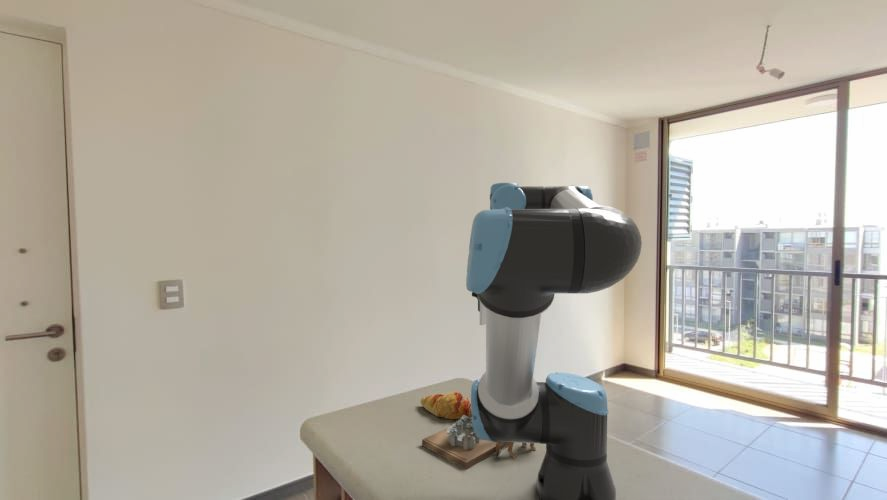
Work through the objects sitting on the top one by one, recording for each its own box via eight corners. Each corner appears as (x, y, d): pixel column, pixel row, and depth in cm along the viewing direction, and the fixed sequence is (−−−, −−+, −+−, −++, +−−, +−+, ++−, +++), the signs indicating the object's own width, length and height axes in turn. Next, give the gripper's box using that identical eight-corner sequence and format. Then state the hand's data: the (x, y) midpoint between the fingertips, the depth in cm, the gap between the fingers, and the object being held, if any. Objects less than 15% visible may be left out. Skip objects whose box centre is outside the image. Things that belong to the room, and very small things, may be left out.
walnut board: (514, 441, 105) (514, 435, 105) (466, 469, 92) (466, 461, 92) (470, 423, 116) (470, 417, 116) (422, 445, 103) (422, 438, 103)
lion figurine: (530, 438, 107) (530, 403, 107) (546, 446, 103) (547, 410, 103) (488, 455, 99) (488, 417, 98) (504, 465, 94) (504, 426, 94)
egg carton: (471, 452, 97) (471, 435, 97) (443, 444, 101) (443, 427, 101) (489, 433, 106) (489, 418, 106) (463, 427, 110) (463, 411, 110)
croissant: (415, 420, 125) (408, 402, 122) (430, 395, 133) (424, 377, 130) (479, 435, 115) (473, 415, 111) (492, 407, 123) (486, 387, 119)
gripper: (556, 245, 99) (555, 333, 99) (477, 244, 116) (477, 319, 117) (539, 245, 93) (538, 339, 94) (459, 244, 111) (458, 323, 112)
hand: (504, 328), depth 105 cm, fingers open, 13 cm apart
